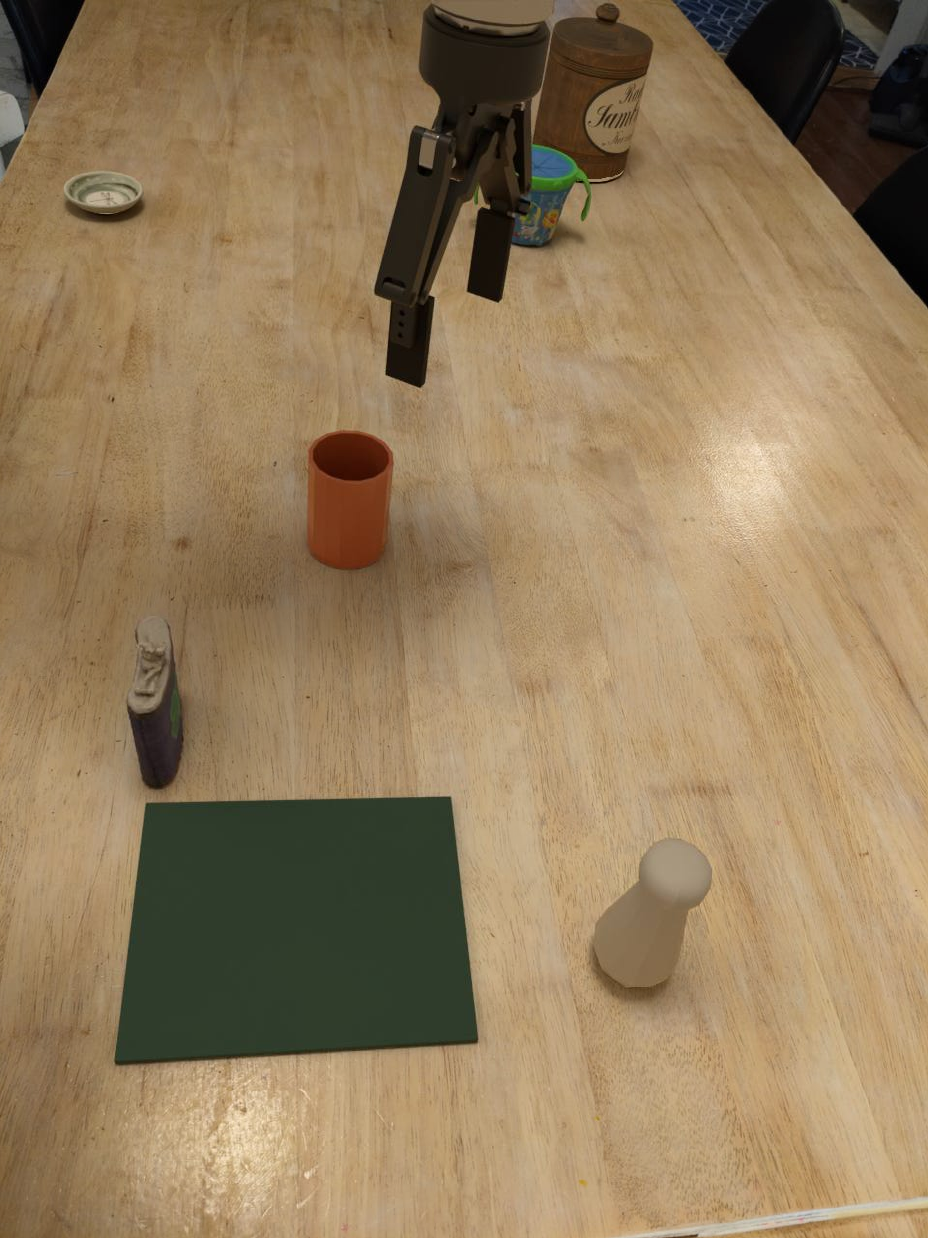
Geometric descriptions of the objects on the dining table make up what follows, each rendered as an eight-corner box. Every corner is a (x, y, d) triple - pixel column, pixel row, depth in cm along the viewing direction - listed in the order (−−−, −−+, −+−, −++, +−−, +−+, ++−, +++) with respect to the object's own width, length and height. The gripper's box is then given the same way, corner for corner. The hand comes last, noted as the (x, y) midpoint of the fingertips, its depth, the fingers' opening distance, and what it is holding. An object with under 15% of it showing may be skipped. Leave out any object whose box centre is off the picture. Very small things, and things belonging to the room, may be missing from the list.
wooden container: (598, 193, 152) (634, 30, 136) (513, 160, 156) (538, -1, 140) (639, 163, 161) (678, 8, 145) (557, 133, 166) (586, -21, 150)
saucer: (51, 198, 131) (48, 179, 129) (121, 182, 136) (118, 164, 134) (89, 230, 127) (86, 211, 125) (159, 213, 132) (157, 195, 130)
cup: (307, 568, 91) (308, 482, 84) (306, 515, 96) (308, 428, 89) (387, 570, 93) (395, 484, 85) (383, 516, 97) (390, 431, 90)
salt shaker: (568, 950, 70) (612, 852, 60) (625, 904, 73) (676, 804, 63) (630, 1018, 67) (685, 927, 58) (686, 967, 70) (748, 873, 61)
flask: (148, 690, 80) (133, 596, 72) (186, 690, 81) (176, 596, 73) (138, 791, 74) (121, 699, 66) (180, 789, 75) (168, 698, 67)
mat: (115, 1064, 61) (114, 1061, 61) (146, 806, 73) (145, 802, 73) (477, 1042, 65) (478, 1039, 64) (450, 799, 77) (451, 796, 76)
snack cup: (583, 228, 144) (599, 155, 136) (578, 263, 136) (594, 188, 129) (474, 207, 144) (484, 133, 136) (463, 241, 137) (473, 165, 129)
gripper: (457, 93, 50) (417, 440, 66) (616, -19, 67) (555, 280, 82) (323, 51, 52) (315, 400, 67) (511, -48, 68) (470, 251, 84)
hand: (447, 335), depth 75 cm, fingers open, 13 cm apart
